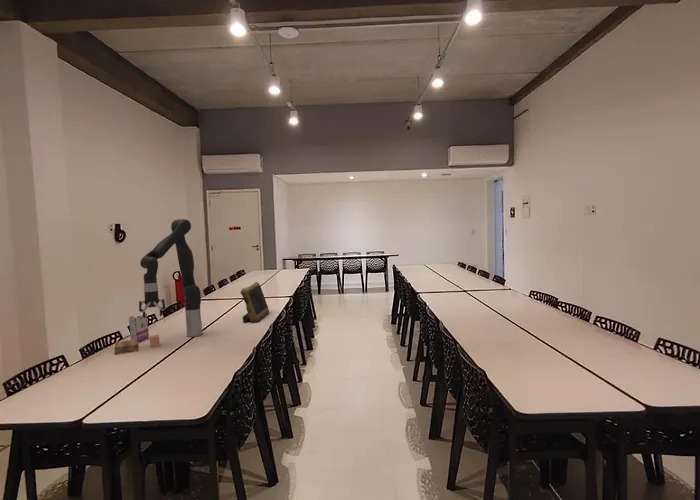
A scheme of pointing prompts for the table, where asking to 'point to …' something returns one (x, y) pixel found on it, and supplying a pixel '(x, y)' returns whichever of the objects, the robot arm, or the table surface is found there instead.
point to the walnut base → (126, 346)
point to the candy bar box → (138, 327)
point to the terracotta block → (154, 341)
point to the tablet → (254, 303)
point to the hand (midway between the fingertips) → (152, 317)
